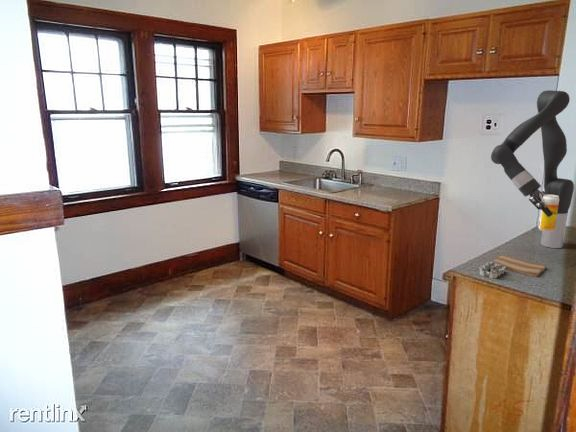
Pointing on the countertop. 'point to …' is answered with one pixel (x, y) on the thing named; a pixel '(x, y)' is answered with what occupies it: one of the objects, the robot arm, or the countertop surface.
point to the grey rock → (494, 272)
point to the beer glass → (550, 222)
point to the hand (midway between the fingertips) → (553, 214)
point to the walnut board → (520, 266)
